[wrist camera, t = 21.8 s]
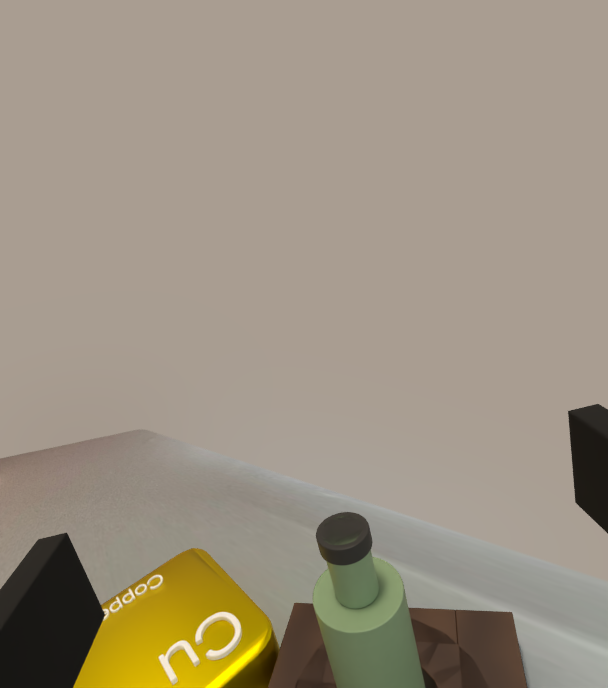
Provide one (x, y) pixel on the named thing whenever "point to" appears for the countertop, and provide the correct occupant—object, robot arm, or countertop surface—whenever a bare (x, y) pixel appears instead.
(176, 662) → the element tile
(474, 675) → the hole board
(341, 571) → the bottle
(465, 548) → the countertop surface
